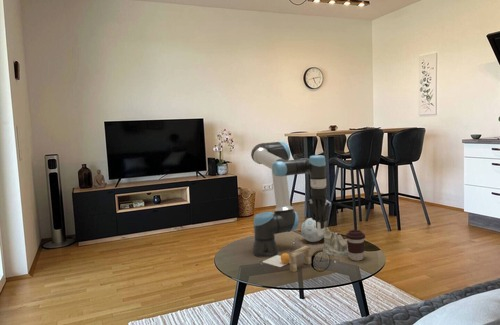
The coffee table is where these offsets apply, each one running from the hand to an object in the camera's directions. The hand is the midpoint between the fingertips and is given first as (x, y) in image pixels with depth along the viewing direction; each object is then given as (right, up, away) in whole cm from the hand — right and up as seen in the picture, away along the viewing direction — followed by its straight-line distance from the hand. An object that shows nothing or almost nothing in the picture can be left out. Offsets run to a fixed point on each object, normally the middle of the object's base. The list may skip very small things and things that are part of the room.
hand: (320, 234), depth 182 cm
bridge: (-8, -19, +11) cm, 23 cm away
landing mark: (-19, -19, +21) cm, 34 cm away
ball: (-16, -16, +17) cm, 28 cm away
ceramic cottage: (+16, -16, +31) cm, 39 cm away
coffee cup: (+23, -17, +18) cm, 34 cm away
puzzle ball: (+5, -15, +52) cm, 54 cm away
